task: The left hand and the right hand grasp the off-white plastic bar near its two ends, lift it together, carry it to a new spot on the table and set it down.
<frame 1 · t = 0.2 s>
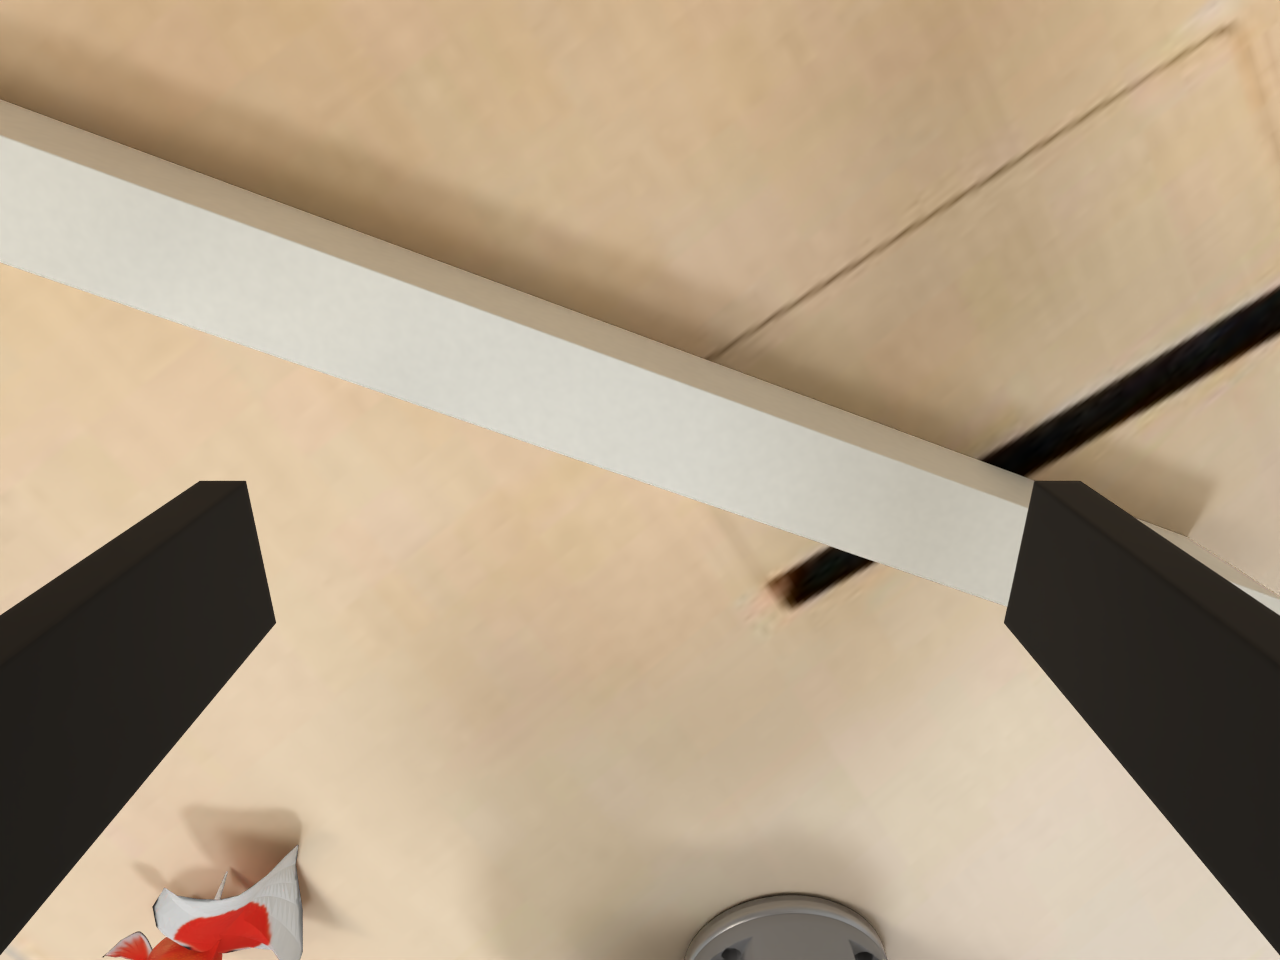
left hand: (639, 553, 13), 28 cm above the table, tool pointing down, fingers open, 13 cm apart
bar: (555, 354, 39), on the table
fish: (240, 882, 53), on the table
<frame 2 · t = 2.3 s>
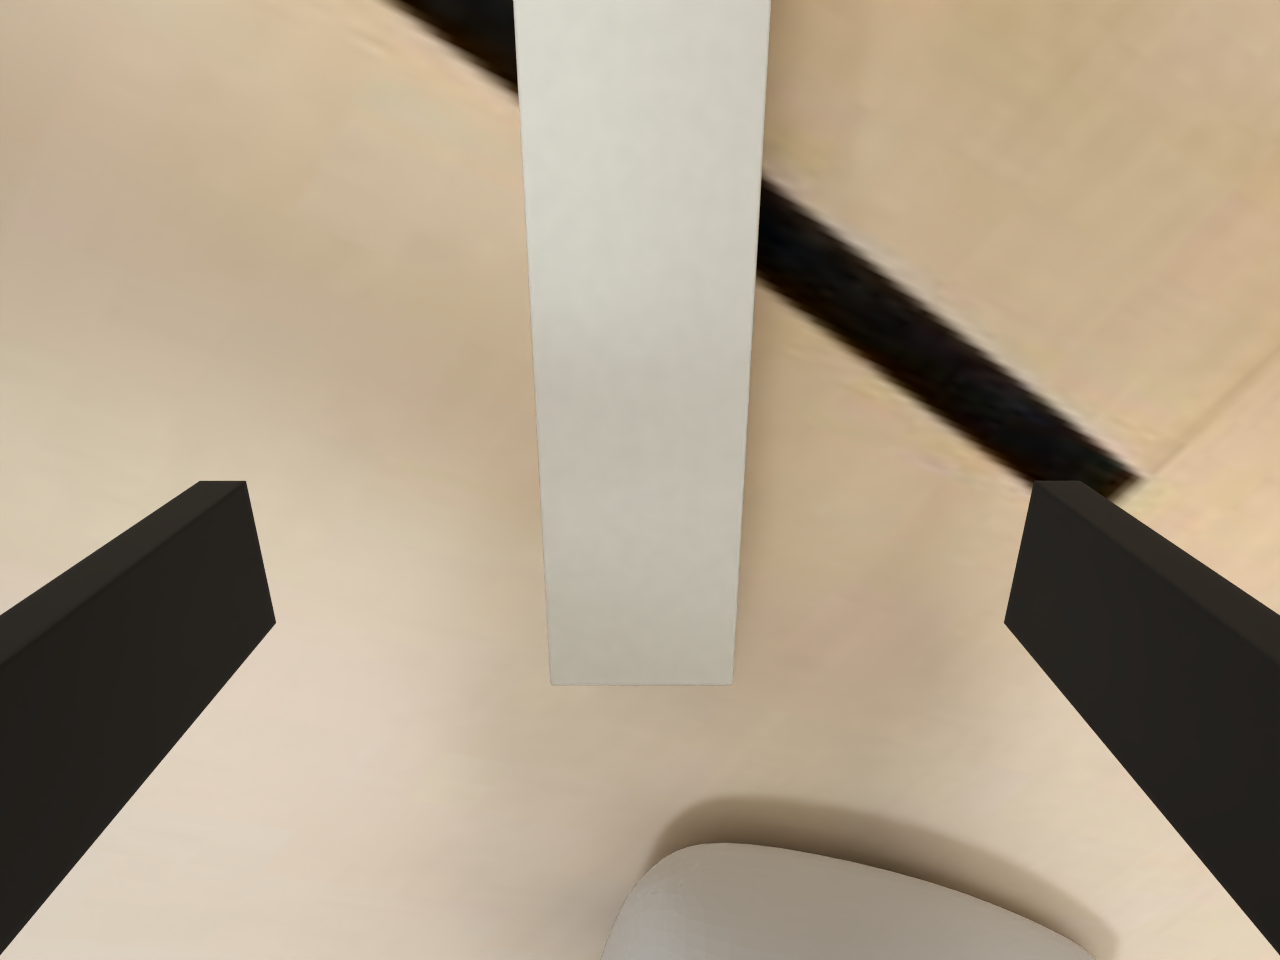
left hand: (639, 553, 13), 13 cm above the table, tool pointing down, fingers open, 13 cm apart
projector: (836, 947, 35), on the table
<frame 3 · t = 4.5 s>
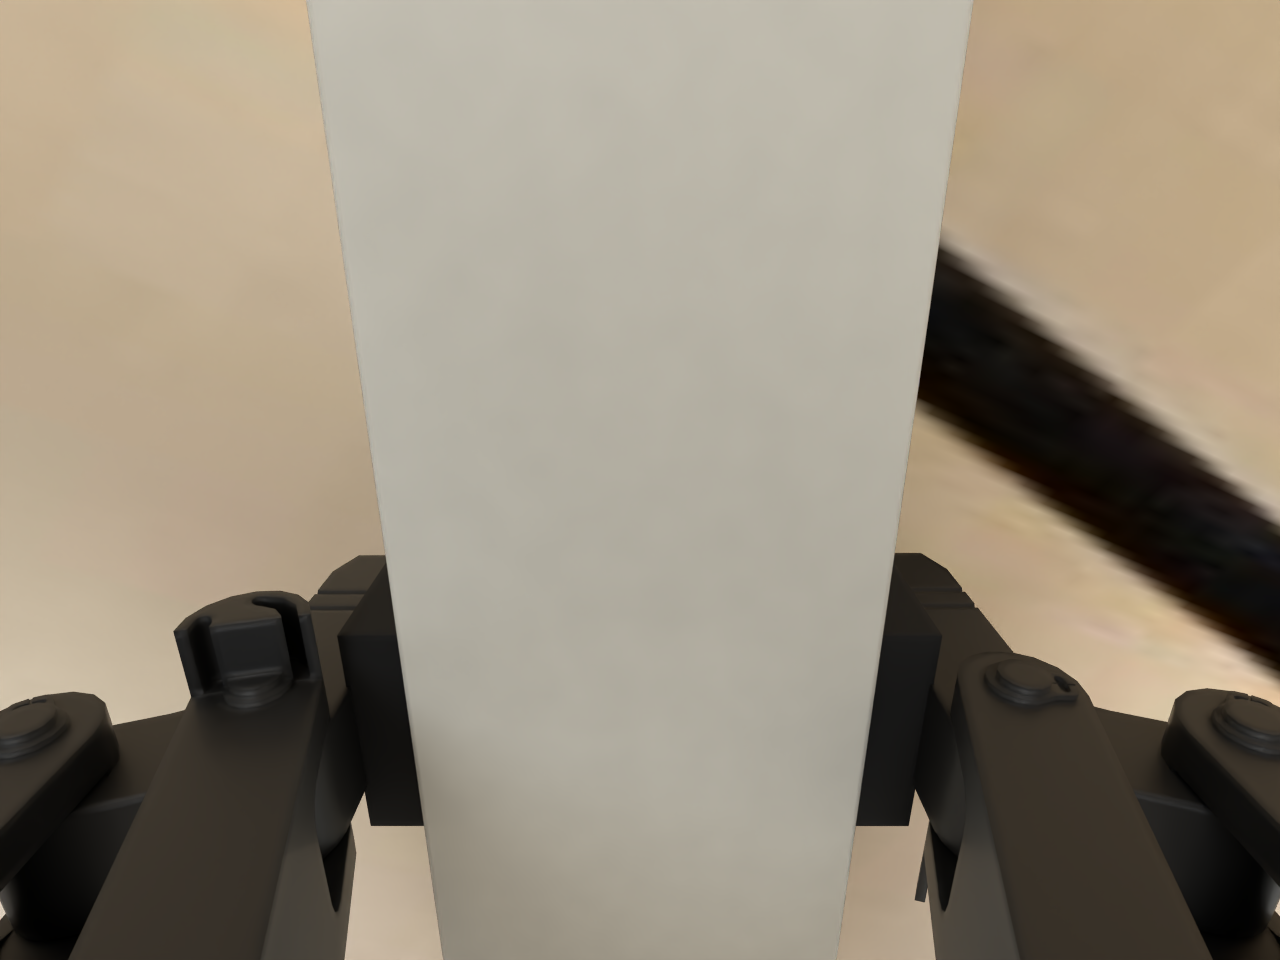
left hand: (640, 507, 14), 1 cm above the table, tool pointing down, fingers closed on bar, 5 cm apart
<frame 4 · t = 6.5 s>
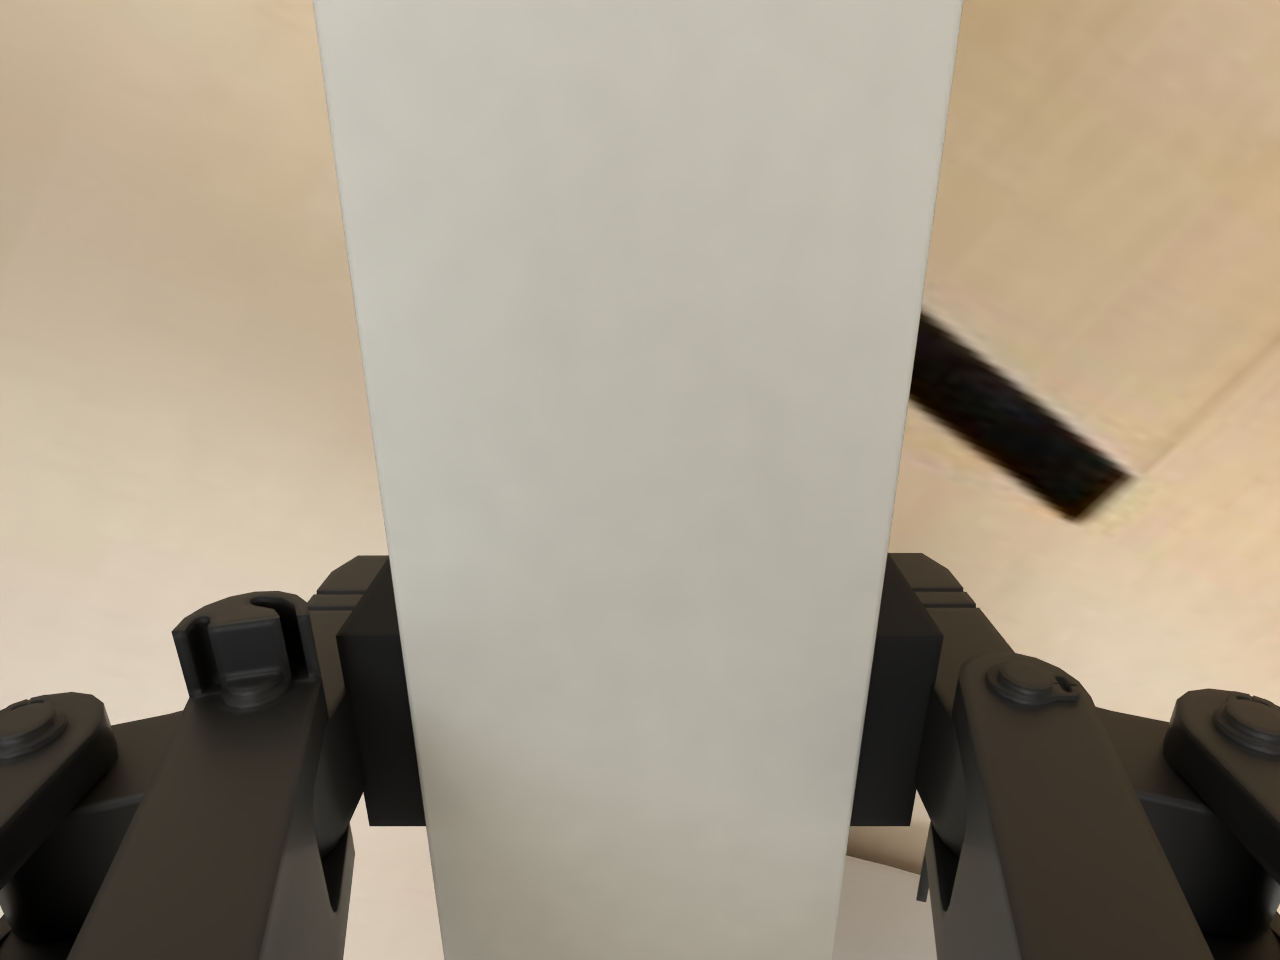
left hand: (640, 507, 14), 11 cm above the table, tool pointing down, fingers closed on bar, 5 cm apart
projector: (833, 941, 35), on the table
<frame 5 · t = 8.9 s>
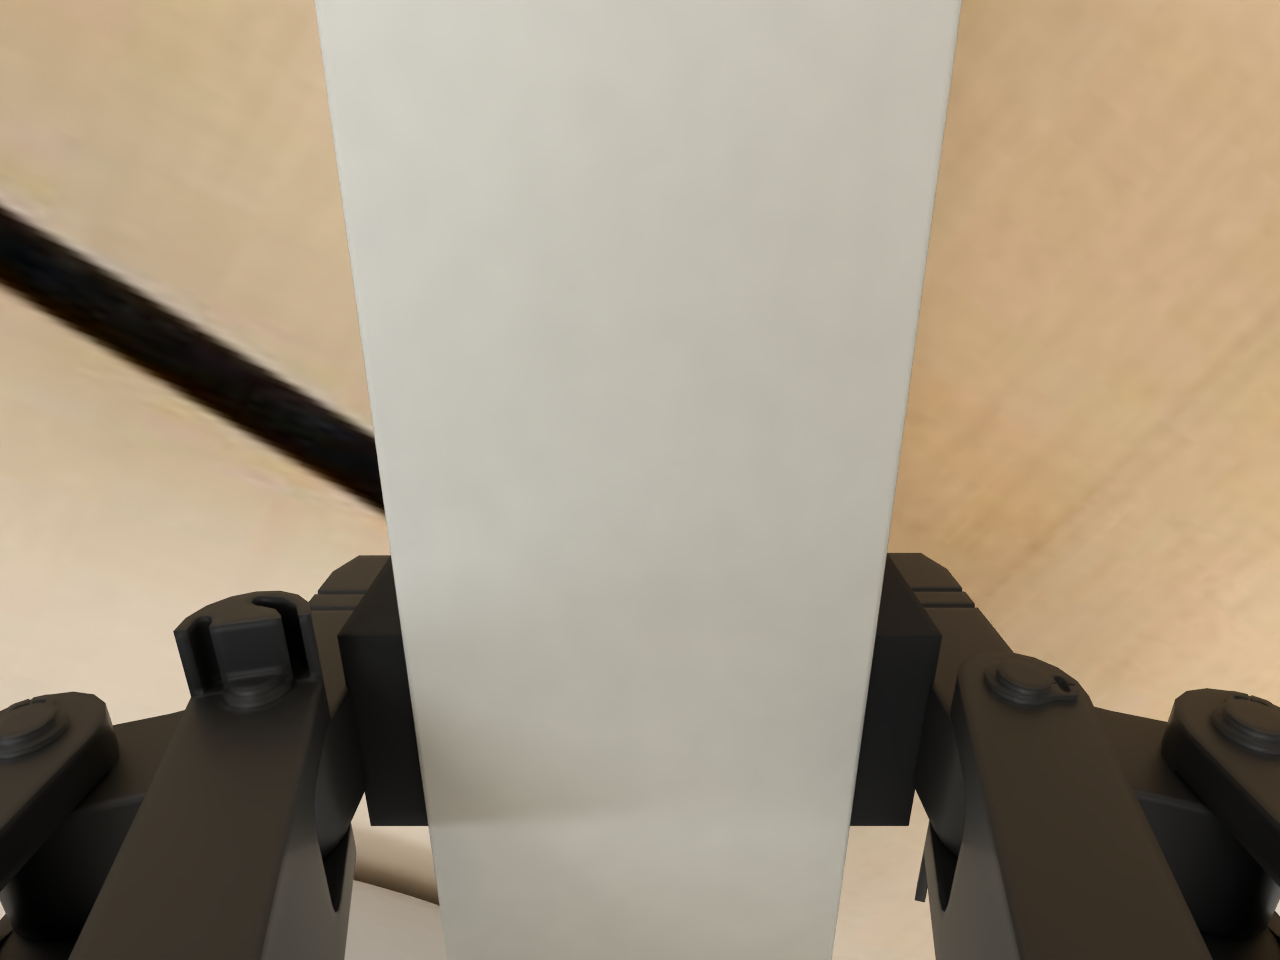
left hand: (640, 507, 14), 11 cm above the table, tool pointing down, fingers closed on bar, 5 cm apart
projector: (334, 949, 35), on the table
when the left hand's fingers open (2 cm above the table, at t = 10.7 s): bar drops 1 cm, on the table.
when the right hand's fingers open (4 cm above the table, at t = 10.9 s): bar stays where it is, on the table.
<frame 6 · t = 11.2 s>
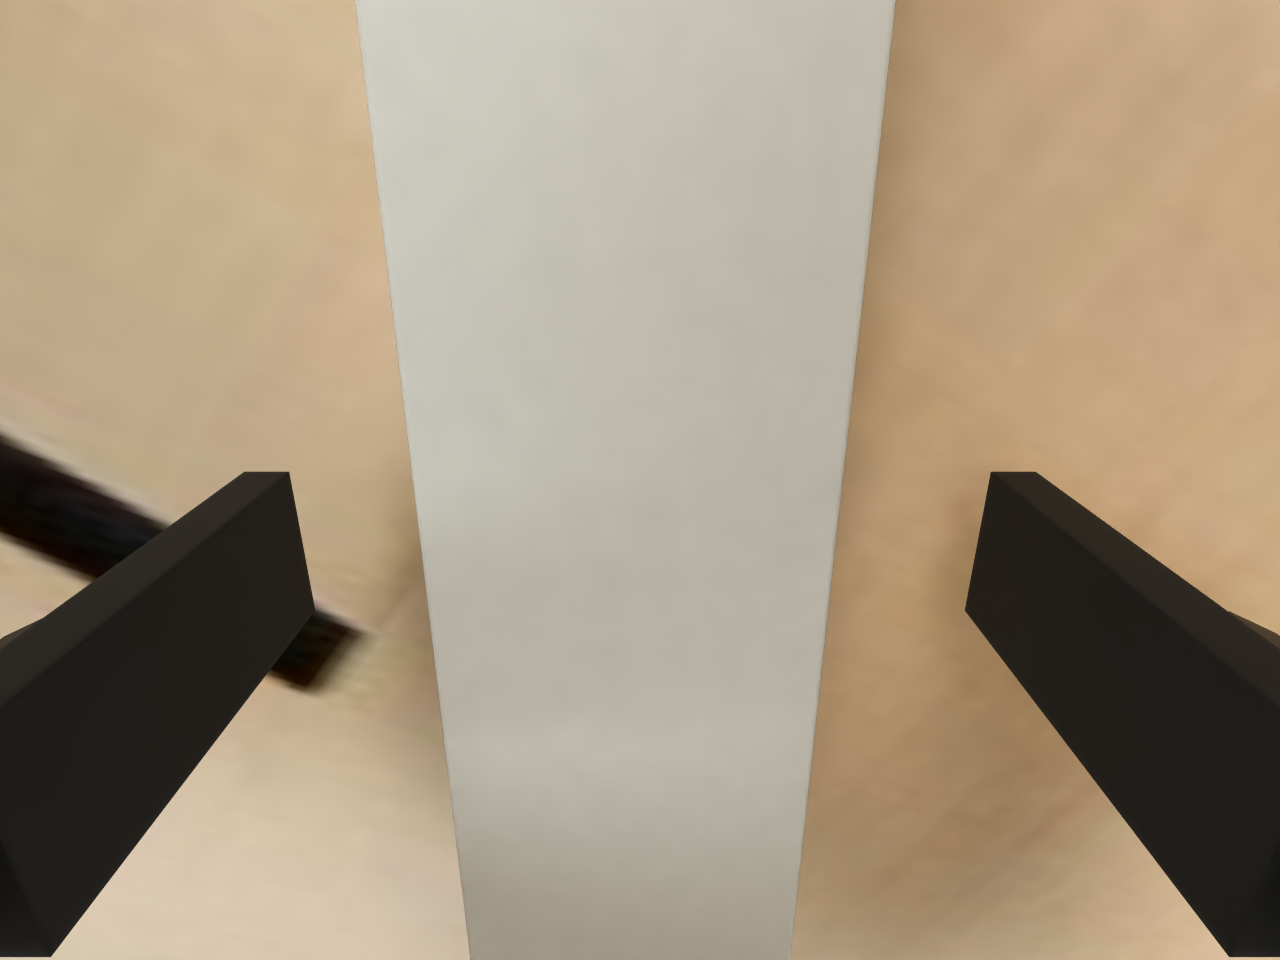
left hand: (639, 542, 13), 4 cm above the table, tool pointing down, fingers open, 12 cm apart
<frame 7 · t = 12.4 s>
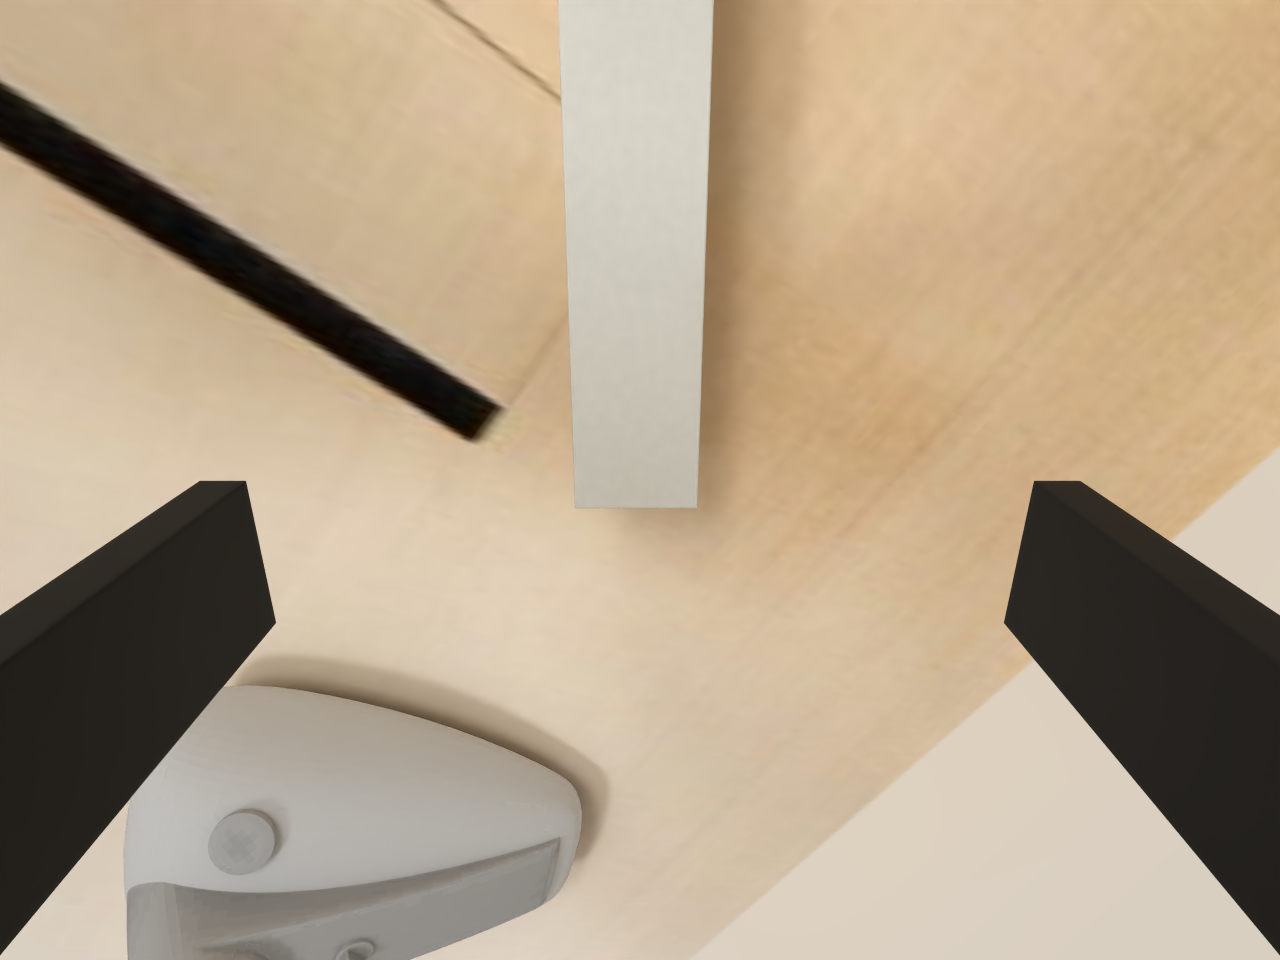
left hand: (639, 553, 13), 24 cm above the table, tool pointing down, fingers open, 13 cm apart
projector: (391, 781, 45), on the table
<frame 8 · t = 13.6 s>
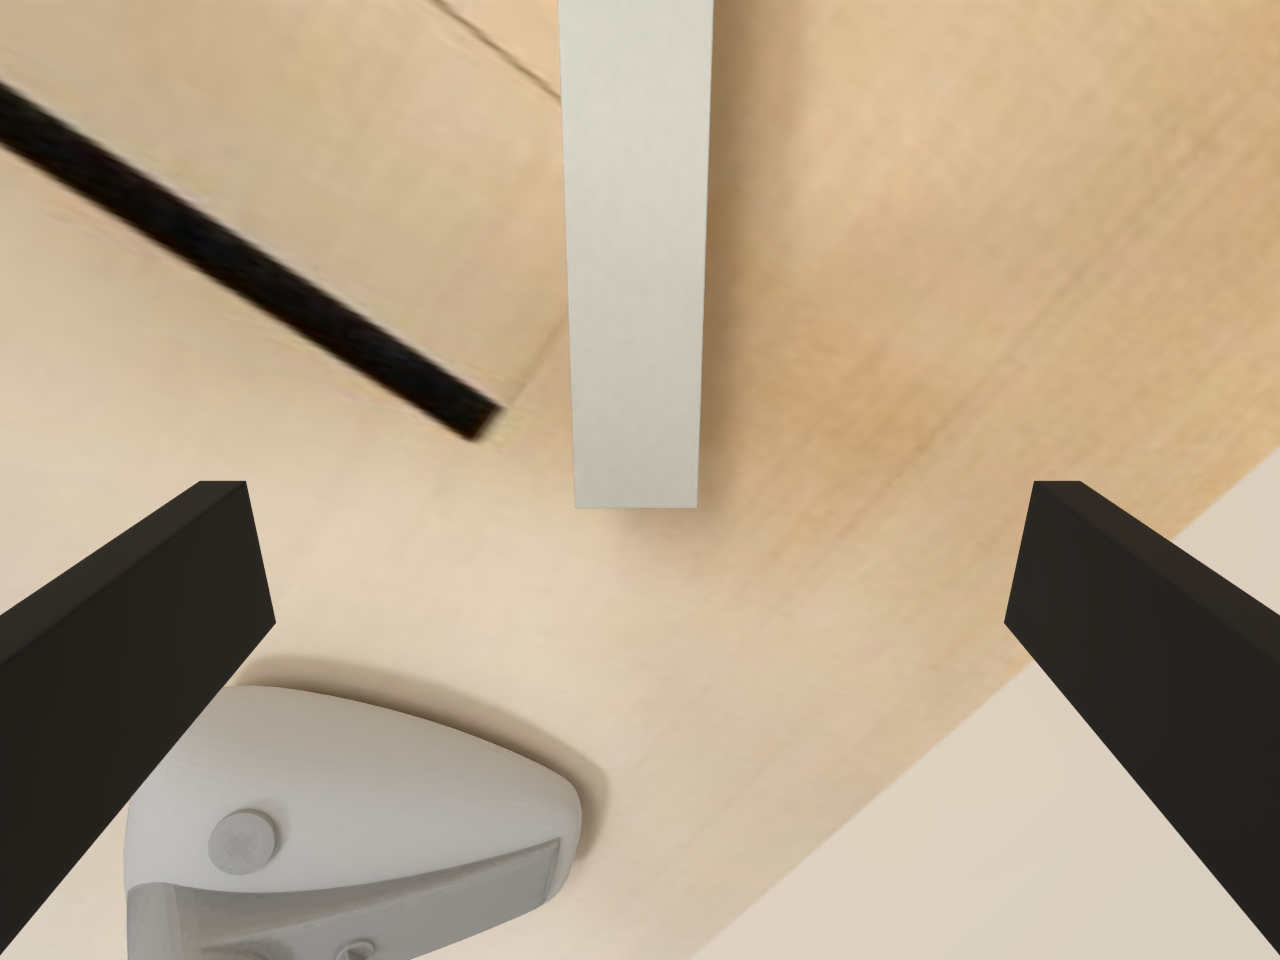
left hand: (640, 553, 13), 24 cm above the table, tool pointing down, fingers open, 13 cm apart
projector: (391, 781, 45), on the table
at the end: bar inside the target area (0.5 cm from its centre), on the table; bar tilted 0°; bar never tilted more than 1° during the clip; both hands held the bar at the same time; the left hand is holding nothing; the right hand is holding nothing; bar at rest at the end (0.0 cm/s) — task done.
